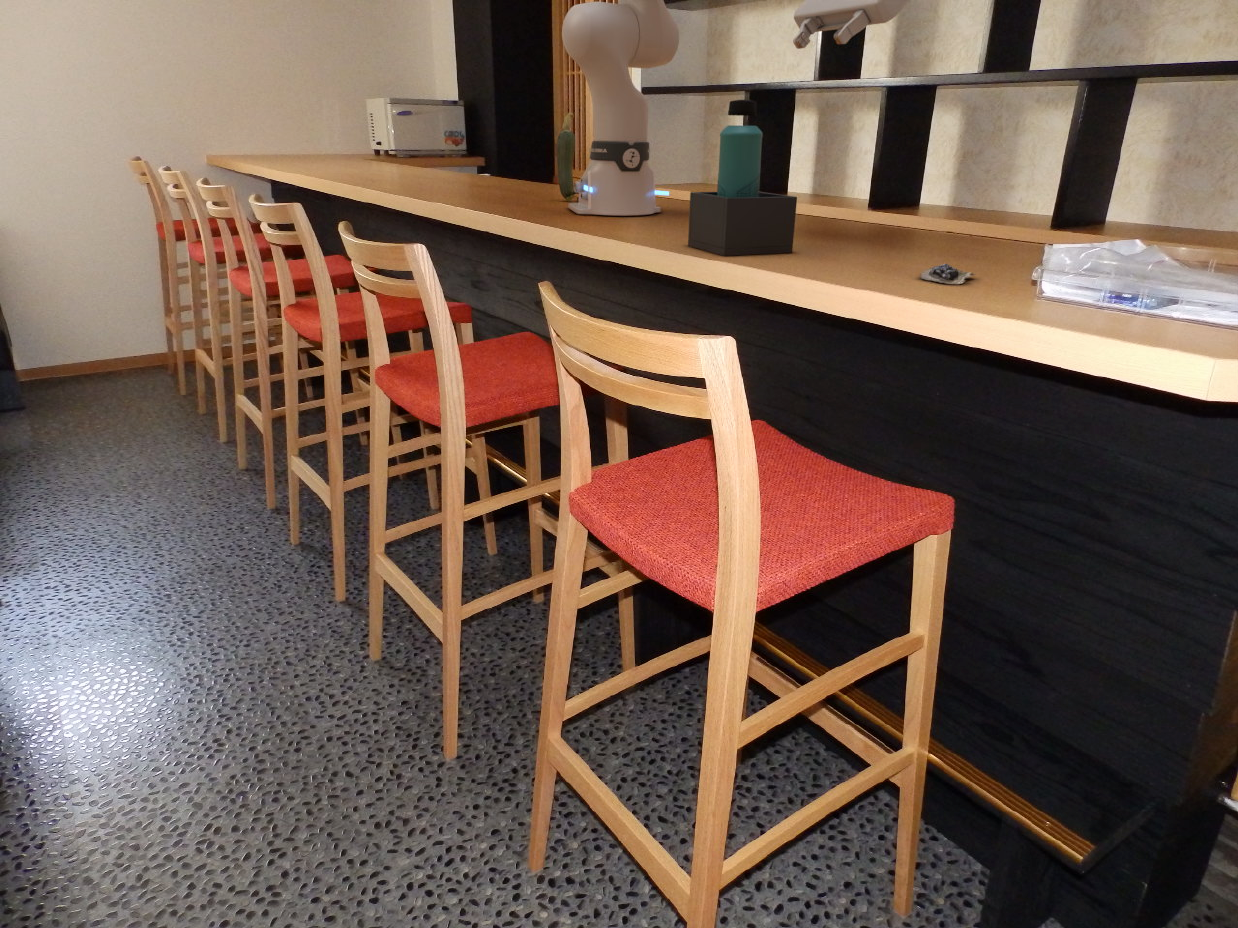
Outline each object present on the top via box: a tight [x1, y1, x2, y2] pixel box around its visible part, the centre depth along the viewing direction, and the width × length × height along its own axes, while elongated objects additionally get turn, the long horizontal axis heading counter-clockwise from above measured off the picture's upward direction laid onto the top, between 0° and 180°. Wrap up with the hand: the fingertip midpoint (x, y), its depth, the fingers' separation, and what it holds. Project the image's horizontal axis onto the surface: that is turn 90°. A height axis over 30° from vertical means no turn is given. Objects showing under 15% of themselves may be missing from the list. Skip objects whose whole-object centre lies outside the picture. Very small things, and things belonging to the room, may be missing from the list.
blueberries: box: [920, 263, 976, 285], centre depth 105 cm, size 7×8×2 cm
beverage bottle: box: [716, 99, 764, 198], centre depth 125 cm, size 6×7×20 cm
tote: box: [687, 191, 798, 257], centre depth 127 cm, size 12×12×8 cm
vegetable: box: [556, 111, 576, 202], centre depth 200 cm, size 4×4×20 cm
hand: (817, 43), depth 128 cm, fingers open, 8 cm apart
